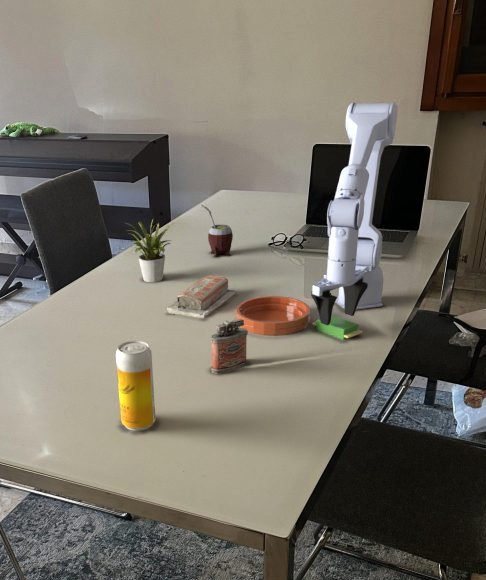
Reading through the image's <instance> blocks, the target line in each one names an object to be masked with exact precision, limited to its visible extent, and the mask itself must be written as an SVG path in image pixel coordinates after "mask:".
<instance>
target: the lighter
mask: <svg viewBox="0 0 486 580" xmlns="http://www.w3.org/2000/svg"><path fill="white" fill-rule="evenodd" d="M215 326H216V327H215V328H216V333H214V334H212V335H211V336H210V342H211V367H210V368H211V369H210V370H211V373H212V374H216V375H220V374H225V373H230V372H234V371H237V370H240V369H243V368H245V367H247V365H246V364H247V363H248V360H247V338H248V337H247V336H248V333H249V332H248V330H247V329H245V328H240V326H244V320H243V319H242V318H240V319H237V320H236V319H233V320H231V321H229V320H224V321H223V322H222V323H221V324H217V325H215Z"/></svg>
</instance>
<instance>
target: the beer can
mask: <svg viewBox="0 0 486 580" xmlns="http://www.w3.org/2000/svg"><path fill="white" fill-rule="evenodd" d="M152 355H153V353H152V349H151V348H150V345H149V344H148V343H147V342H145V341H141V340H130V341H125V342H122V343H120V344H119V345H118V346H117V350H116V352H115V362H116V373H117V384H118V385H117V387H118V397H119V407H120V408H119V410H120V421H121V424H122V425H123V426H124V427H125V428H126V429H128V430H130V431H134V432H140V431H145V430H148V429H150V428H151V427H152V426H153V424H154V423H155V422H156V405H155V403H156V402H155V388H154V371H153V370H154V369H153V356H152Z"/></svg>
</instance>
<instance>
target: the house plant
mask: <svg viewBox="0 0 486 580" xmlns="http://www.w3.org/2000/svg"><path fill="white" fill-rule="evenodd" d="M153 222H154V219H152V220H151V223H150V226H152V224H153ZM125 224H126V225H129V226H131V227H132V228H133V230H130V229H129V230H127V229H126V232H128V231H129V232H130V231H131V232H134V233H135V234H136V235H135V234H133V233H127V235H132V236H133V237H134V238H135V239H136V240H135V241H132V243H131V244H133V246H132V245H130V246H128V247H129V248H130V247H131V248H135V250H134V254H136V253H138V252H140V253H141V254H140V255H139V256H138V261H139V267H140V271H141V275H142V279H143V281H144V282H147V283H158V282H161V281H162V280H163V279H164V269H165V260H166V255H165V247H166V246H167V245H171V244H172V243H171V241H173V240H171V239H170V240H166V239H165V240H162V237H163V236H164V235H165V234H166V232H167V231H168V230H169V228H170V227H172V226H173V225H174V224H175V222H172V223H171V224H169V225H167V227H165V228H164V229H163V231H161V232H160V233H159V229H160V223H159V222H157V223H156V225H157V226H156V225H154V226H153V227H150V229H149V233H148V232H147V230H146V228H145V226H144V224H143V223H142V222H141V221H140V220H139V221H138V225H139V227H140V228H141V232H142V233H143V236H144V238H145V239H144V238H143V236H142V235H141V234H140V233H139V230H138V229H137V228H136V227H135V226H134V225H132V224H130V223H127V222H125ZM154 227H156V228H155V233H154V236H152V235H153V231H154ZM137 236H138V237H139V238H140V239H141V241H142V242H143V244H144V245H143V244H142V242H141V241H140V239H139V238H138V237H137ZM161 240H162V241H161ZM164 243H165V244H164ZM161 252H162V253H161Z"/></svg>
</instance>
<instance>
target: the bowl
mask: <svg viewBox="0 0 486 580" xmlns="http://www.w3.org/2000/svg"><path fill="white" fill-rule="evenodd" d="M235 313H236V315H235V320H237V319H240V318H242V319H243V320H244V326H240V327H239V328H245V329H247V330H248V333H250V334H251V333H252V334H255V335H261V336H285V335H291V334H295V333H298V332H300V331H303V330H305V329H306V328H307V327H308V326H309V324H310V322H311V307H310V305H309V304H308V303H306V302H305V301H302V300H300V299H297V298H294V297H289V296H288V297H287V296H279V295H268V296H258V297H253V298H249V299H247V300H244V301H243V302H241V303H239V304H238V305H237V306H236V309H235Z"/></svg>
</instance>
